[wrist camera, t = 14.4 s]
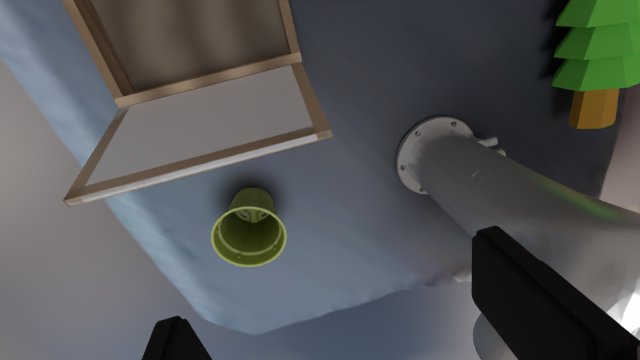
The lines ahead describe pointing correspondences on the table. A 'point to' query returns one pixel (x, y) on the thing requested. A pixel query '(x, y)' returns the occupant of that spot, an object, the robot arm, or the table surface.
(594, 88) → the decorative tree
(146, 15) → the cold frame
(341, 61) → the table surface
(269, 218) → the plant pot
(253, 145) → the lid
